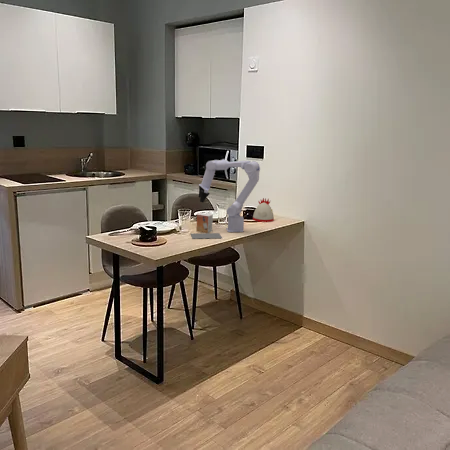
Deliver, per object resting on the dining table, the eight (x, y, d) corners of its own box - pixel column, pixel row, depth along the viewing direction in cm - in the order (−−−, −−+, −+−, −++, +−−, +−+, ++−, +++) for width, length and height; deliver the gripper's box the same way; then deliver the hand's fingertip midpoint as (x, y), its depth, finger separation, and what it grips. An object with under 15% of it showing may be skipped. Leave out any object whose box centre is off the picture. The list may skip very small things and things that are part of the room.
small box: (196, 231, 284) (196, 214, 281) (200, 229, 289) (201, 212, 286) (207, 233, 280) (208, 216, 278) (212, 231, 285) (212, 214, 283)
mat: (219, 233, 280) (219, 233, 280) (222, 238, 270) (222, 237, 270) (190, 234, 277) (190, 233, 277) (192, 239, 267) (192, 238, 267)
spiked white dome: (271, 223, 312) (272, 200, 308) (250, 221, 315) (252, 198, 312) (275, 218, 325) (276, 197, 321) (255, 216, 328) (256, 195, 325)
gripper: (199, 174, 294) (193, 194, 298) (202, 181, 281) (195, 202, 285) (210, 177, 296) (204, 196, 300) (213, 184, 283) (207, 205, 287)
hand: (200, 199), depth 293 cm, fingers open, 7 cm apart
